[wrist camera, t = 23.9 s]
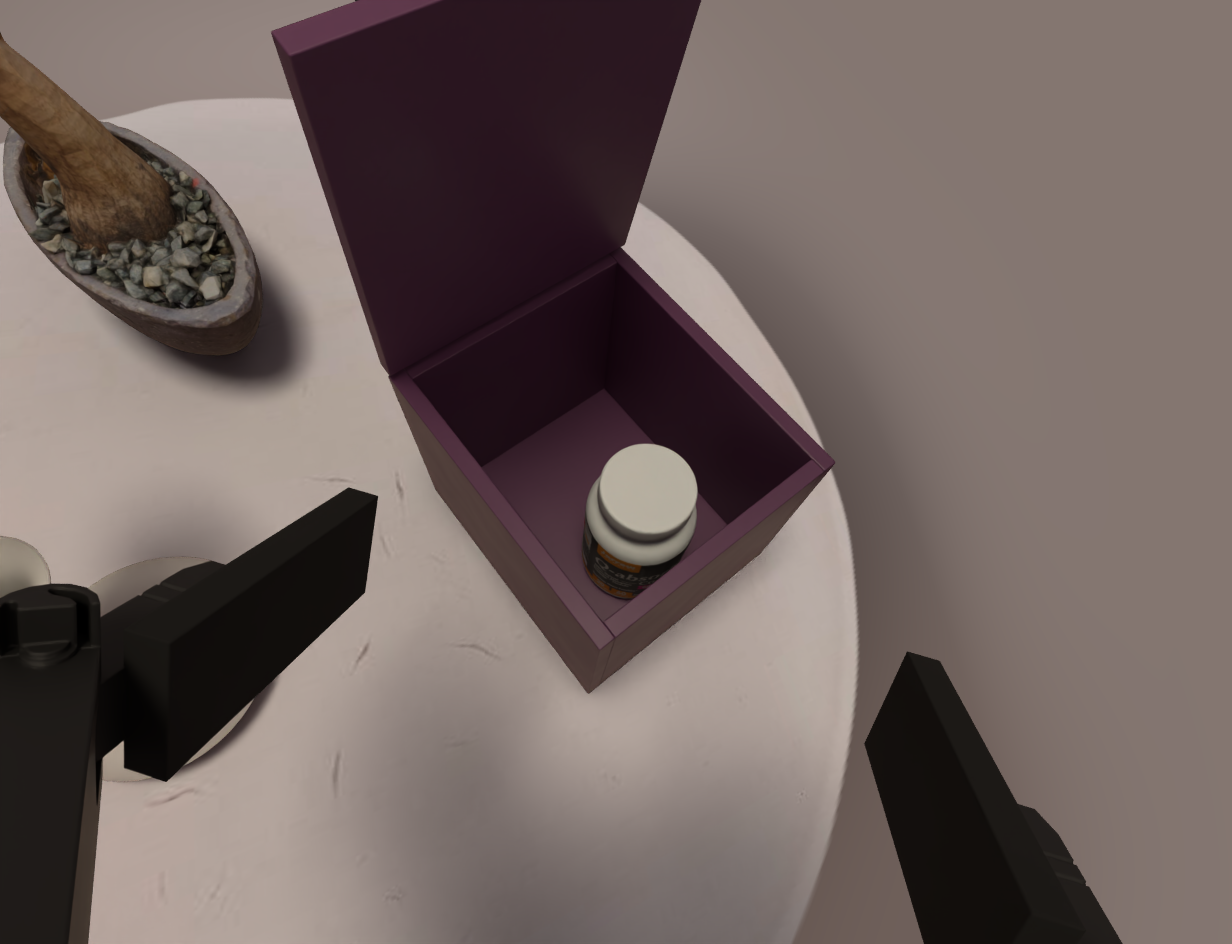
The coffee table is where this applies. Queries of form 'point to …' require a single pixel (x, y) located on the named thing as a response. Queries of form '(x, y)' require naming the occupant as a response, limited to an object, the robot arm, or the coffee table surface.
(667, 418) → the chest
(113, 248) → the planter
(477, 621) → the coffee table surface
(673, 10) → the lid
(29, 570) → the flower in vase
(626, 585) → the pill bottle
